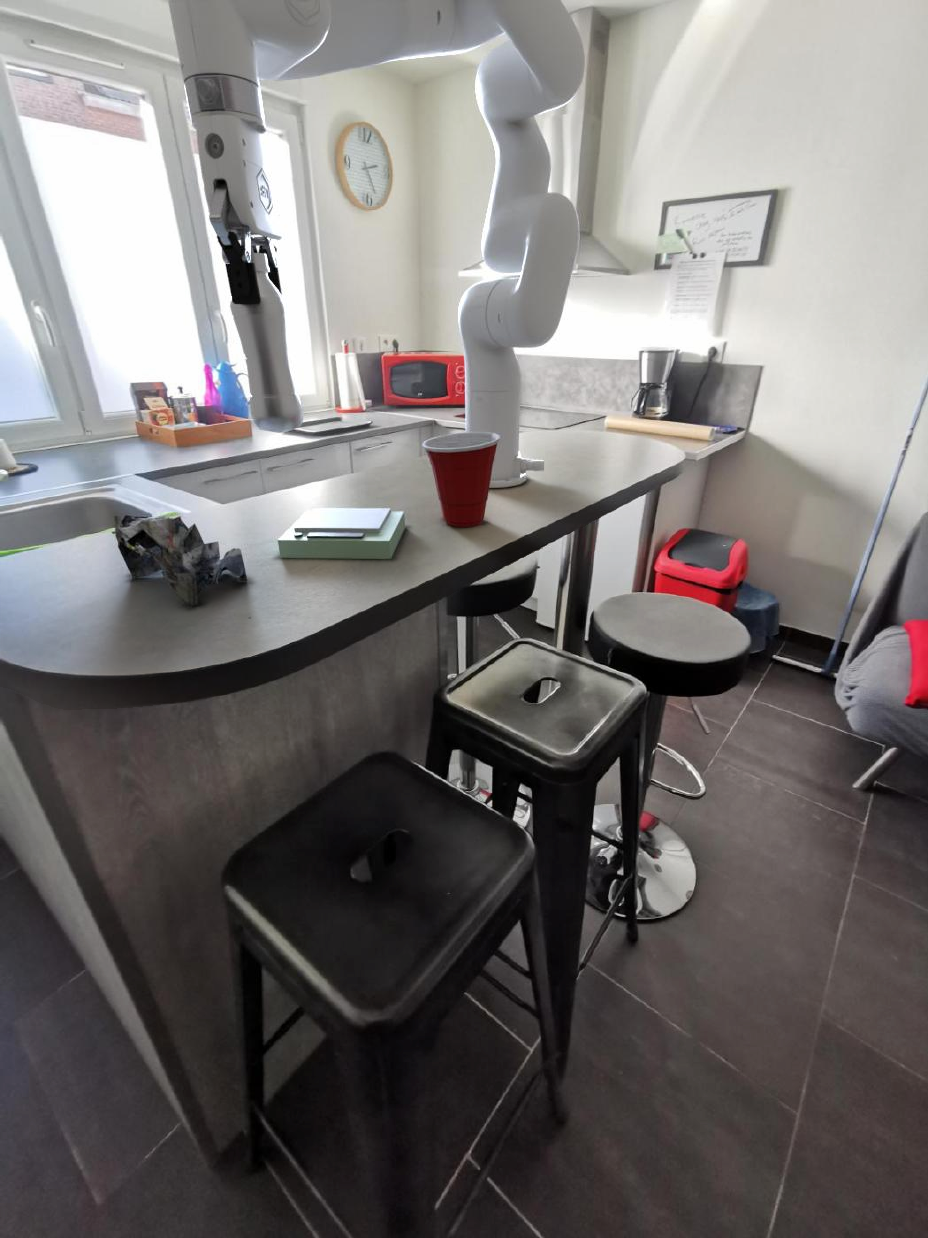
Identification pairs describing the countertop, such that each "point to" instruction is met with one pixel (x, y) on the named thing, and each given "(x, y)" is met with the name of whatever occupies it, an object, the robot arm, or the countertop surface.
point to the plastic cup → (462, 474)
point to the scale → (344, 534)
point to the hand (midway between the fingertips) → (259, 302)
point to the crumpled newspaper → (174, 554)
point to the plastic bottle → (268, 355)
